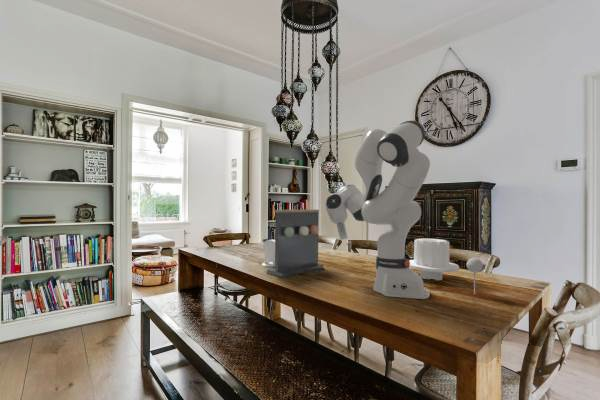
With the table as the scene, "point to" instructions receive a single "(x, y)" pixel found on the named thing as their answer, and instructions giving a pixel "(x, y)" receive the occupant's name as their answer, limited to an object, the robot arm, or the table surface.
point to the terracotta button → (313, 229)
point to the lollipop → (474, 267)
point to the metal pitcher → (269, 252)
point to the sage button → (288, 231)
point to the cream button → (303, 230)
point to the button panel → (295, 243)
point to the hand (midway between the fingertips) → (341, 224)
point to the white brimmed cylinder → (432, 258)
